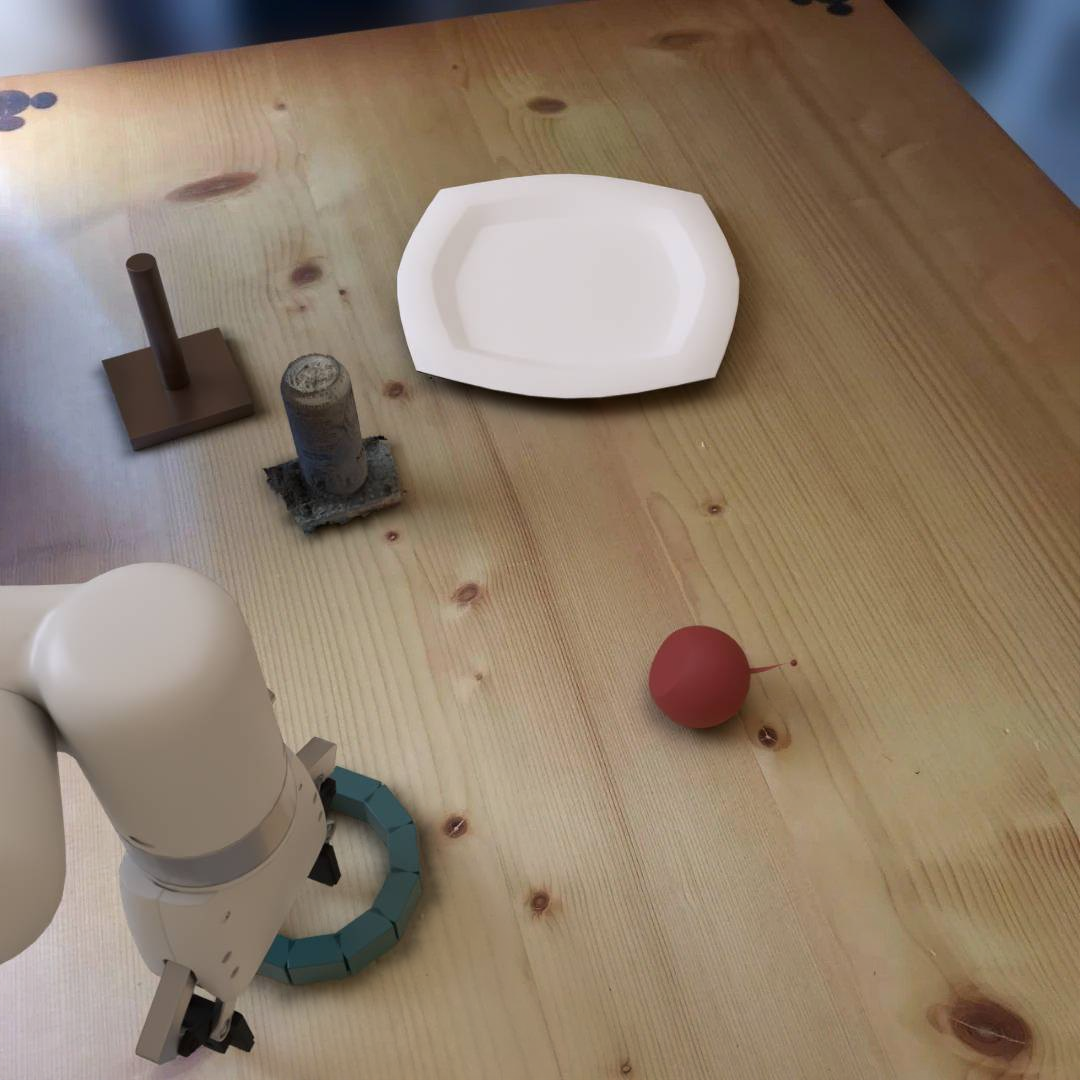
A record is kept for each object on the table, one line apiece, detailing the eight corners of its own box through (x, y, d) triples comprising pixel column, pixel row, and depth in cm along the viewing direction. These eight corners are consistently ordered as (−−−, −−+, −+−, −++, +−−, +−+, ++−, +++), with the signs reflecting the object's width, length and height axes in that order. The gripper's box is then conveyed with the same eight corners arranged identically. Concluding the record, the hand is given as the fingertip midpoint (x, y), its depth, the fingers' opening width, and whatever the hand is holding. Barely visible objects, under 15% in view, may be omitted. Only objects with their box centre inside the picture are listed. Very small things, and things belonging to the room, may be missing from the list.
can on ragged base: (308, 551, 87) (281, 426, 78) (261, 478, 91) (230, 351, 82) (427, 497, 90) (414, 371, 81) (376, 429, 94) (358, 301, 85)
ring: (364, 1016, 68) (359, 999, 66) (171, 937, 70) (161, 919, 69) (454, 826, 75) (452, 806, 73) (274, 761, 77) (268, 740, 75)
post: (133, 451, 93) (88, 321, 84) (105, 371, 98) (59, 240, 89) (255, 414, 95) (224, 283, 86) (221, 338, 101) (188, 207, 91)
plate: (726, 195, 112) (729, 175, 111) (748, 420, 95) (751, 400, 94) (414, 189, 113) (413, 169, 111) (381, 411, 96) (378, 392, 94)
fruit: (714, 760, 80) (797, 708, 74) (636, 726, 78) (715, 670, 72) (719, 677, 83) (799, 621, 78) (645, 642, 82) (721, 583, 76)
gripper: (230, 613, 61) (287, 790, 74) (7, 950, 51) (119, 1084, 64) (374, 662, 59) (406, 834, 73) (173, 1020, 49) (253, 1143, 63)
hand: (271, 951), depth 68 cm, fingers open, 9 cm apart
